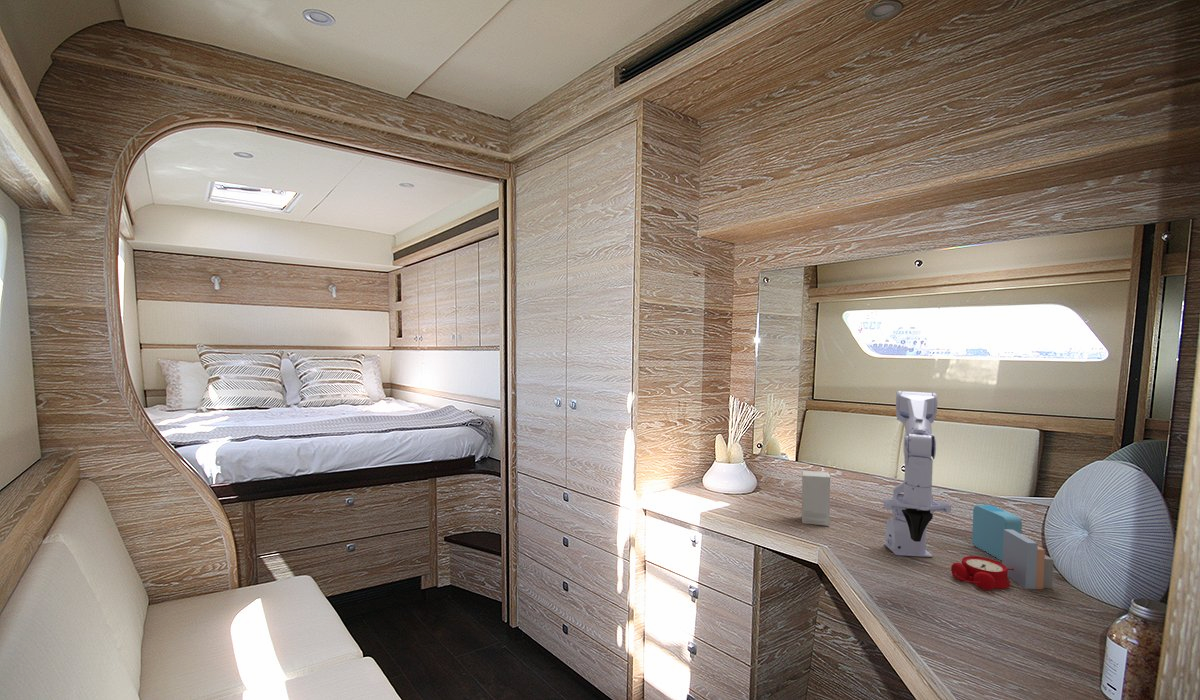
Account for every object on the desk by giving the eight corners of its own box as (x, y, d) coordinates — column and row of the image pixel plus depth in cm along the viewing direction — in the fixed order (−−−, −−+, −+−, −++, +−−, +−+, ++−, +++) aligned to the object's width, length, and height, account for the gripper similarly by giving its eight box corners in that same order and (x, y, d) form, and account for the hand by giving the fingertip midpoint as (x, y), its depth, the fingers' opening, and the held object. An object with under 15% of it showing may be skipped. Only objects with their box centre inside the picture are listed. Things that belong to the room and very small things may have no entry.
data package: (1020, 562, 145) (1022, 518, 144) (1004, 562, 144) (1006, 518, 144) (986, 544, 157) (988, 503, 156) (971, 544, 156) (973, 503, 156)
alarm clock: (1021, 568, 133) (990, 566, 126) (1017, 594, 132) (986, 594, 125) (975, 552, 142) (943, 550, 135) (971, 577, 141) (939, 575, 134)
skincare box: (828, 520, 175) (830, 472, 174) (829, 527, 168) (831, 477, 168) (800, 516, 177) (802, 469, 177) (800, 523, 171) (802, 474, 170)
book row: (1025, 588, 130) (1027, 542, 129) (1001, 571, 139) (1003, 529, 138) (1055, 590, 129) (1057, 544, 129) (1029, 573, 138) (1031, 530, 138)
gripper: (893, 487, 128) (891, 544, 128) (959, 490, 126) (956, 548, 127) (880, 479, 135) (878, 533, 135) (943, 482, 133) (940, 536, 134)
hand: (915, 540), depth 131 cm, fingers closed
